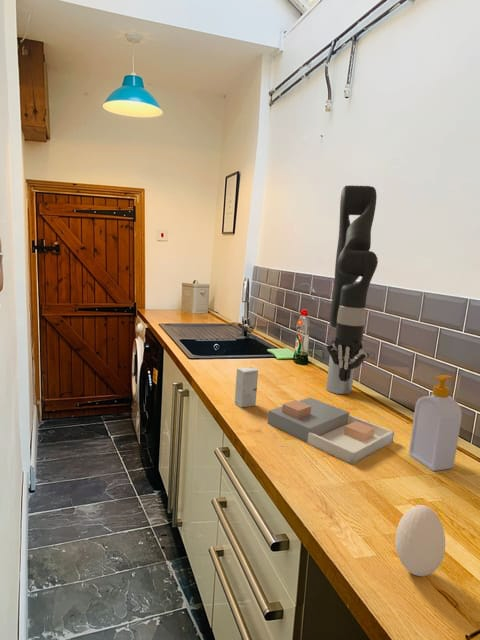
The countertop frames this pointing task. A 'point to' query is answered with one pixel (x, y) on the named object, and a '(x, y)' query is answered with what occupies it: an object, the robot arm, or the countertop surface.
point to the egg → (420, 540)
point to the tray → (351, 442)
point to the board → (310, 419)
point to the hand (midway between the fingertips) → (343, 380)
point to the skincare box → (246, 387)
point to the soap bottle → (436, 428)
